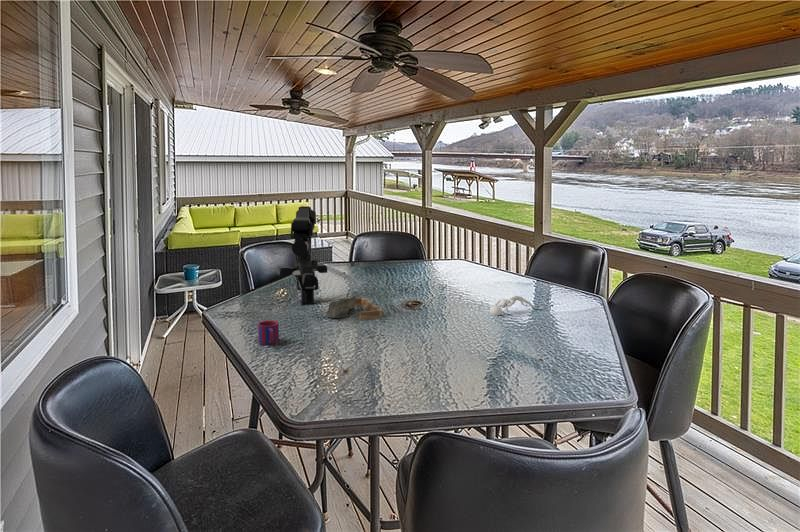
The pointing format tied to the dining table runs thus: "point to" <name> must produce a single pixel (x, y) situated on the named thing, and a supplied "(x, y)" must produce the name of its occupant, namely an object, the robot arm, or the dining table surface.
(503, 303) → the figurine
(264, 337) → the mug
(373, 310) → the wooden u-shaped handle
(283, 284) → the dining table surface
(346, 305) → the rock
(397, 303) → the dining table surface
